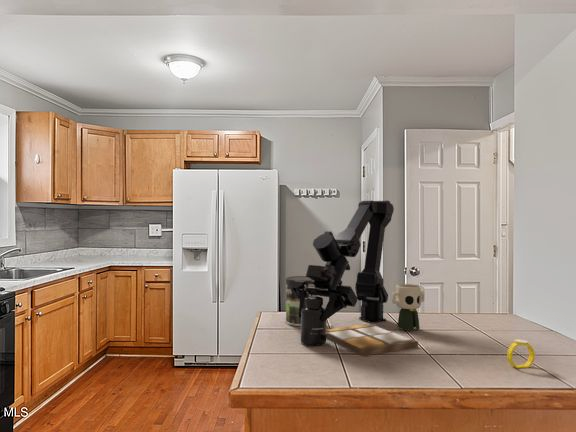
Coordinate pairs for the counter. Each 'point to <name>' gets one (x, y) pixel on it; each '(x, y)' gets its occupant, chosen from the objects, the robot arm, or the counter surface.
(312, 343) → the supplement bottle
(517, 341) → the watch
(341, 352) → the counter surface
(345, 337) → the wooden tray
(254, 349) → the counter surface
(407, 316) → the character mug
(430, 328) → the counter surface
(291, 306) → the coffee can
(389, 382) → the counter surface
